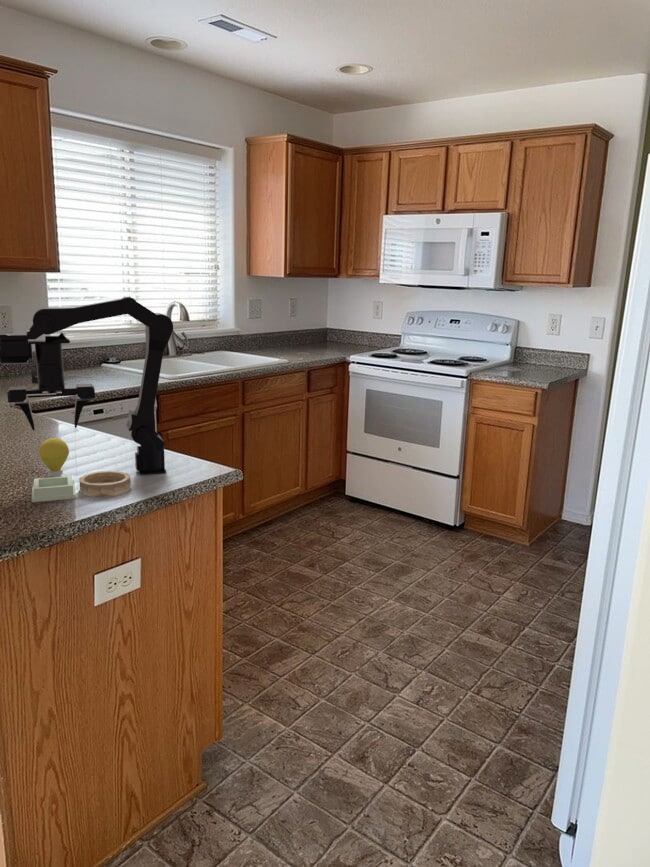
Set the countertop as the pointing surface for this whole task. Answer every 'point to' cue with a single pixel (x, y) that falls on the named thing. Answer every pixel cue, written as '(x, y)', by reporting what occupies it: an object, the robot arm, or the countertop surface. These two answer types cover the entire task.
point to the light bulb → (54, 455)
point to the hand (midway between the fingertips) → (54, 428)
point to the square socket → (53, 489)
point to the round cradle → (104, 483)
